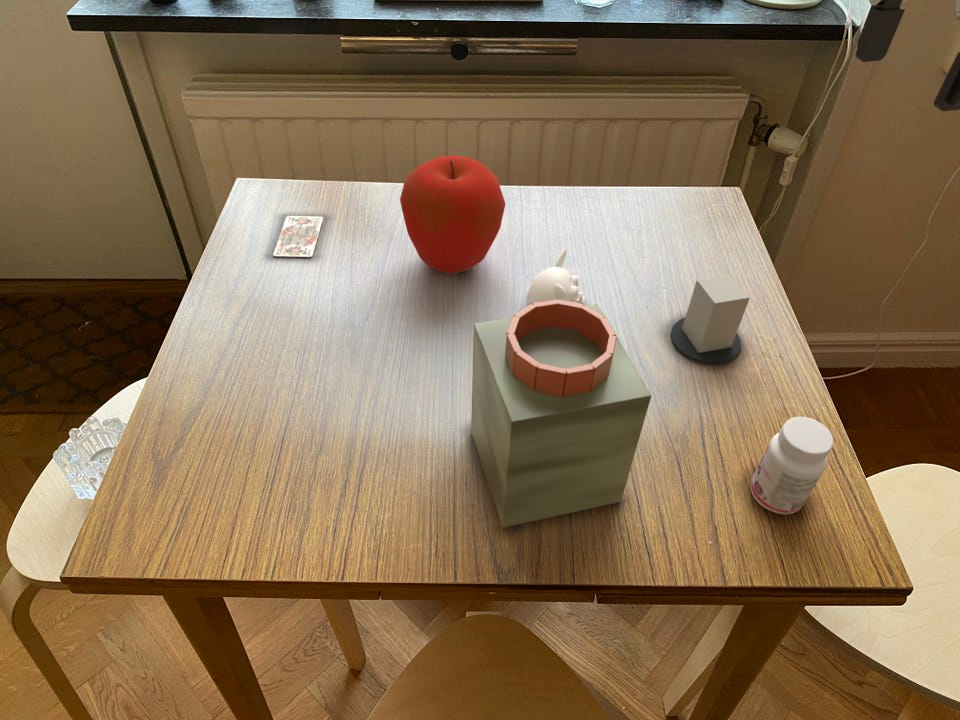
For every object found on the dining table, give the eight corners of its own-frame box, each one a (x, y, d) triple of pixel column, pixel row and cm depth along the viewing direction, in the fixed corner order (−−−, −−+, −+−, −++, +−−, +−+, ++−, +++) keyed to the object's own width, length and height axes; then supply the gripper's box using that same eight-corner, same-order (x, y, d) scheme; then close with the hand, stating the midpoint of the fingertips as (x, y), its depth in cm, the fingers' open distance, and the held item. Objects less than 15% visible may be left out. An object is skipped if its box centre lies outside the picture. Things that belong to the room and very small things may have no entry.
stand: (621, 502, 63) (651, 395, 53) (502, 528, 61) (511, 422, 51) (577, 411, 70) (597, 303, 61) (470, 431, 68) (473, 323, 58)
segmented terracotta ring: (627, 385, 54) (633, 362, 52) (524, 404, 52) (526, 381, 50) (588, 316, 59) (592, 293, 58) (494, 331, 58) (495, 308, 56)
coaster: (753, 358, 77) (754, 355, 76) (689, 370, 75) (690, 367, 75) (719, 313, 82) (720, 311, 81) (659, 323, 80) (659, 321, 80)
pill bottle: (747, 468, 66) (776, 408, 60) (800, 477, 65) (834, 417, 59) (750, 510, 63) (781, 451, 57) (806, 520, 62) (843, 462, 56)
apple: (489, 303, 82) (493, 197, 72) (390, 286, 84) (382, 180, 74) (510, 243, 91) (517, 141, 81) (420, 228, 92) (416, 127, 83)
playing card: (312, 256, 87) (312, 256, 87) (272, 256, 87) (272, 255, 87) (323, 216, 94) (323, 216, 94) (286, 216, 94) (286, 215, 94)
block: (731, 347, 77) (750, 297, 72) (698, 353, 76) (714, 303, 71) (713, 323, 80) (730, 274, 75) (681, 329, 79) (696, 279, 74)
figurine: (582, 340, 78) (590, 294, 73) (524, 336, 78) (528, 289, 74) (581, 295, 84) (588, 249, 79) (527, 290, 84) (531, 244, 79)
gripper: (1208, -184, 35) (1025, 122, 47) (994, -219, 45) (885, 42, 57) (1089, -183, 34) (930, 133, 45) (894, -219, 44) (803, 49, 55)
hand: (905, 82), depth 51 cm, fingers open, 8 cm apart
